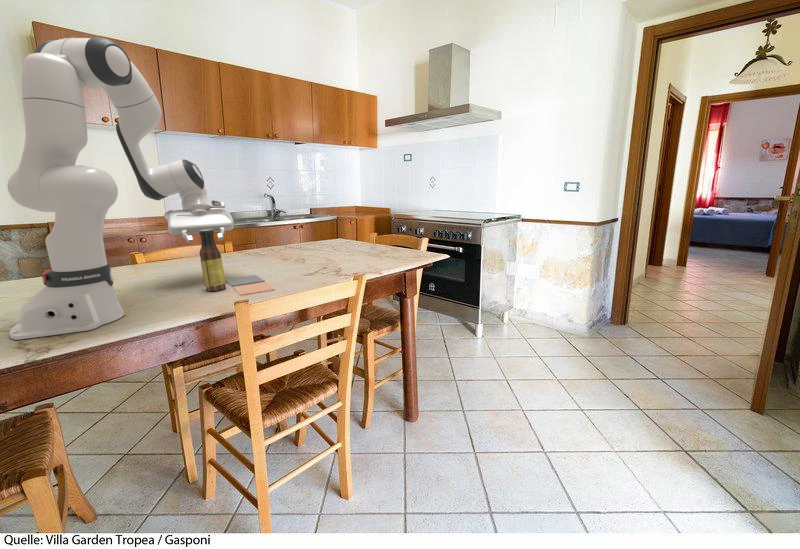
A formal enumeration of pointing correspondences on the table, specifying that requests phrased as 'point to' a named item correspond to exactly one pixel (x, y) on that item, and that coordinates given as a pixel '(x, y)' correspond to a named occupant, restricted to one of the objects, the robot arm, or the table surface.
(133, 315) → the table surface
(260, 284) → the terracotta tile
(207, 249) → the sauce bottle
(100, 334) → the table surface
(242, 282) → the slate tile
